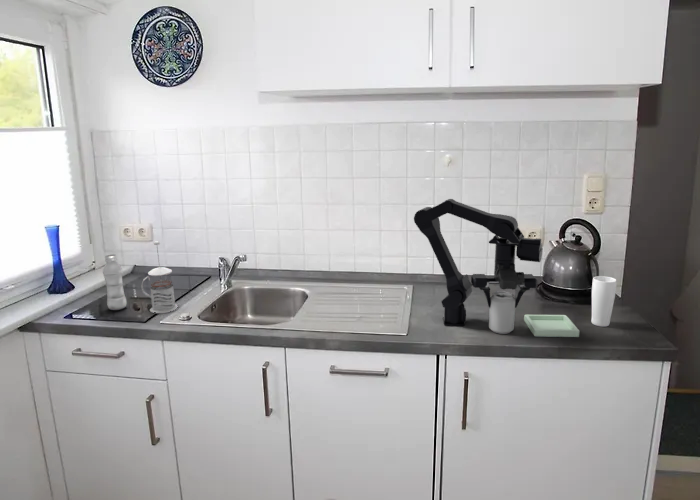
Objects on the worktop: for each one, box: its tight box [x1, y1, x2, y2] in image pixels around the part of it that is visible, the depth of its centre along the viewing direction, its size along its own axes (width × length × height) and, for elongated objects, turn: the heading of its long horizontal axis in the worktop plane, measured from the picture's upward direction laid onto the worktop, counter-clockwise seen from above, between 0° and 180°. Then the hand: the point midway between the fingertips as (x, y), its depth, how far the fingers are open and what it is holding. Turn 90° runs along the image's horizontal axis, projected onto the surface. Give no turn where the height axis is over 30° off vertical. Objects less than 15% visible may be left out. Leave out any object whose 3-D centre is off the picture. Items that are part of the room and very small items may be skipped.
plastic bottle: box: [102, 253, 127, 311], centre depth 185 cm, size 6×7×20 cm
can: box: [488, 290, 516, 335], centre depth 160 cm, size 8×8×12 cm
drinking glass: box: [590, 275, 617, 328], centre depth 163 cm, size 7×7×15 cm
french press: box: [140, 240, 179, 314], centre depth 184 cm, size 10×12×25 cm
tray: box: [523, 314, 580, 338], centre depth 162 cm, size 13×13×2 cm
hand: (502, 307), depth 160 cm, fingers closed on can, 7 cm apart
